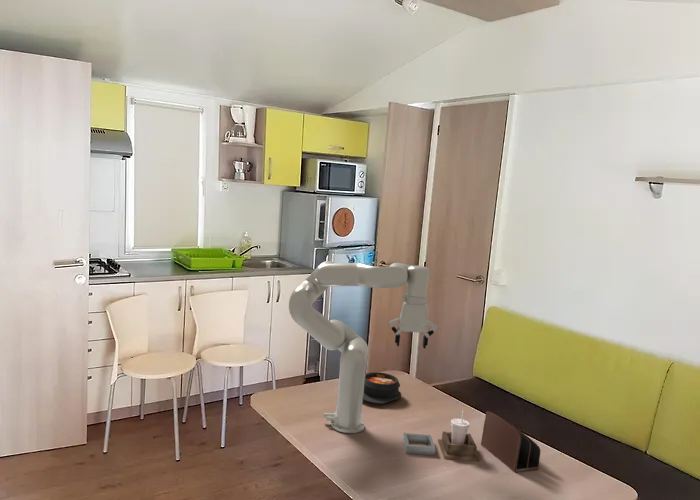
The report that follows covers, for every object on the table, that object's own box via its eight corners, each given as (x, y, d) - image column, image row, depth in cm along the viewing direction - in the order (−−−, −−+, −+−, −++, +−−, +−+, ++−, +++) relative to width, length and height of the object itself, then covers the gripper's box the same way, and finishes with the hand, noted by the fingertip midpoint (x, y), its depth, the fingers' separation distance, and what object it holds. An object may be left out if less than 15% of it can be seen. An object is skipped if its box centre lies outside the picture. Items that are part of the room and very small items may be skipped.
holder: (405, 452, 185) (406, 446, 185) (402, 439, 195) (403, 432, 195) (434, 455, 185) (435, 448, 185) (430, 441, 195) (430, 435, 195)
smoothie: (466, 454, 186) (471, 415, 184) (447, 450, 187) (452, 412, 186) (466, 445, 192) (470, 408, 191) (447, 442, 193) (452, 405, 192)
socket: (444, 458, 184) (445, 445, 183) (437, 441, 196) (439, 429, 195) (478, 461, 184) (480, 448, 184) (470, 444, 196) (472, 432, 195)
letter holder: (514, 473, 178) (520, 432, 177) (480, 444, 197) (484, 408, 195) (538, 470, 182) (544, 430, 180) (502, 442, 200) (507, 406, 199)
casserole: (368, 383, 248) (370, 365, 247) (407, 392, 242) (409, 374, 241) (348, 401, 225) (350, 382, 224) (391, 411, 219) (393, 391, 218)
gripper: (392, 300, 190) (387, 347, 192) (441, 304, 191) (436, 351, 193) (391, 295, 198) (386, 341, 200) (437, 300, 198) (432, 345, 200)
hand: (410, 346), depth 196 cm, fingers open, 9 cm apart
